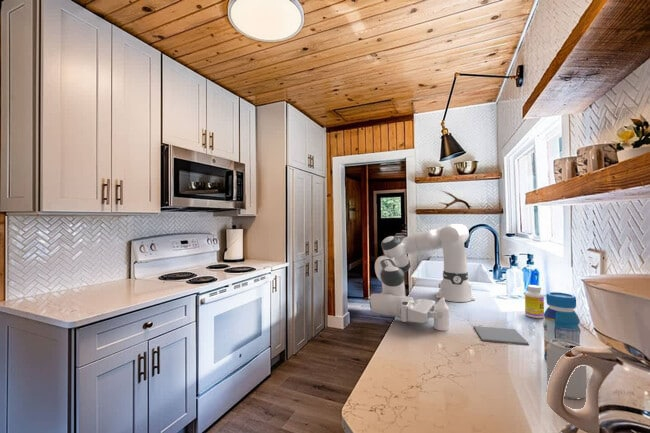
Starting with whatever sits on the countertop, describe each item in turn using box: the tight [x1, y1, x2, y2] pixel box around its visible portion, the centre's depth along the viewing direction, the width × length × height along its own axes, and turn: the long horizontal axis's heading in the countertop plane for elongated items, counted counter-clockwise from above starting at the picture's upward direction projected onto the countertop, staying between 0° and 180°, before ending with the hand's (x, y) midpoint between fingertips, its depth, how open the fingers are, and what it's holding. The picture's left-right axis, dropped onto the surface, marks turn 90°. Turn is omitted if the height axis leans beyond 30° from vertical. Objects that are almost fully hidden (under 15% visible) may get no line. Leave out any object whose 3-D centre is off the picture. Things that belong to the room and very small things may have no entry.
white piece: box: [433, 297, 450, 332], centre depth 116 cm, size 6×12×6 cm
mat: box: [473, 325, 530, 346], centre depth 108 cm, size 13×14×1 cm
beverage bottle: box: [543, 291, 581, 363], centre depth 87 cm, size 8×8×20 cm
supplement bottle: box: [524, 284, 545, 319], centre depth 129 cm, size 7×7×13 cm
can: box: [546, 339, 587, 400], centre depth 73 cm, size 8×8×12 cm
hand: (443, 312), depth 115 cm, fingers closed on white piece, 6 cm apart
